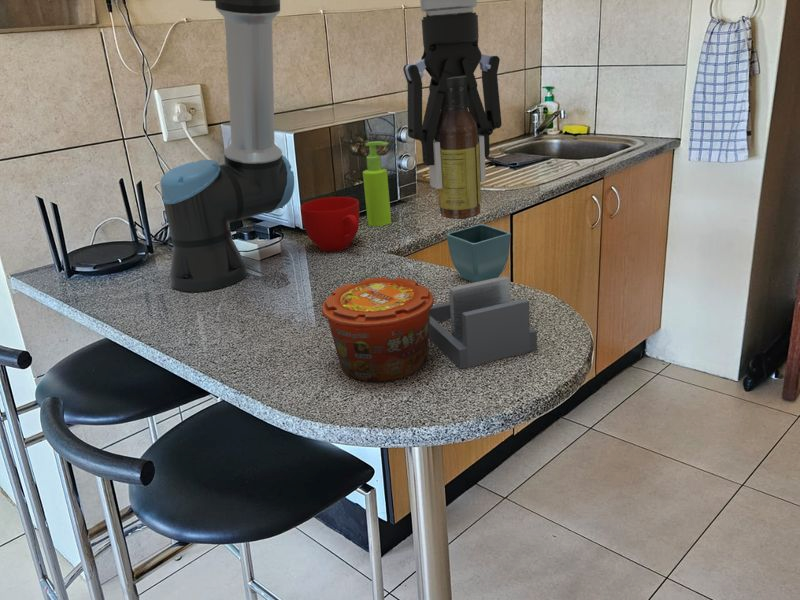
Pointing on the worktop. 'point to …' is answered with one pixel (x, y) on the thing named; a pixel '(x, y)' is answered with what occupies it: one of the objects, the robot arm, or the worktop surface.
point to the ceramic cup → (331, 221)
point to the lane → (485, 333)
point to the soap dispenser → (376, 188)
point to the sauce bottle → (458, 154)
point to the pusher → (476, 299)
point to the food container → (380, 328)
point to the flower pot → (479, 252)
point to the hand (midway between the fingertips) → (457, 183)
